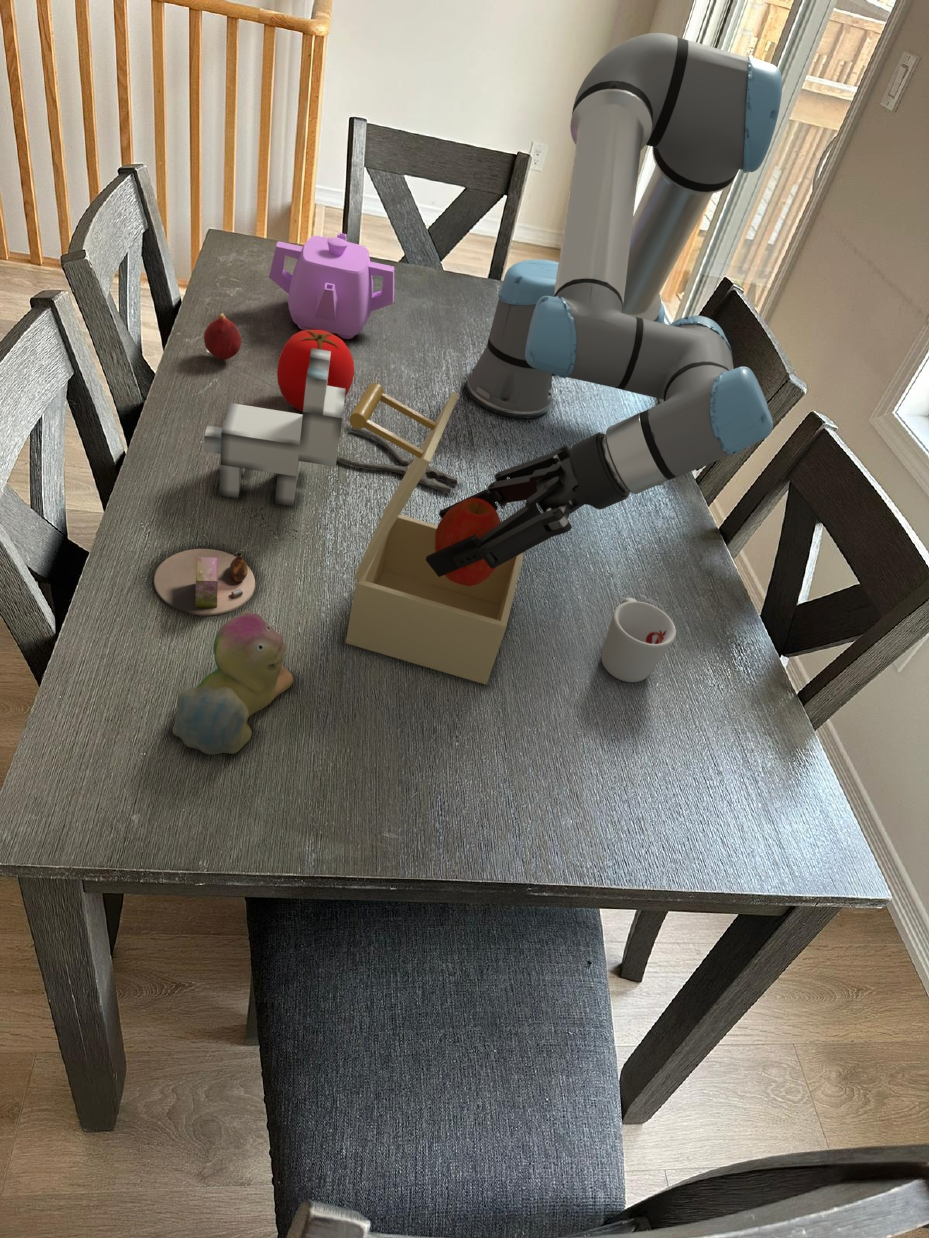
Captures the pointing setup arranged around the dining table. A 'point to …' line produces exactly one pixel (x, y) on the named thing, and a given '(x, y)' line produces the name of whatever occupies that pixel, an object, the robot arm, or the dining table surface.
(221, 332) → the onion
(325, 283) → the teapot
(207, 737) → the sculpture
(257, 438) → the toy llama
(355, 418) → the lid
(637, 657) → the cup
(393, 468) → the pliers
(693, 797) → the dining table surface
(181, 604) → the pink plate
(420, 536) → the chest
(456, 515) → the apple
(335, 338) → the tomato
